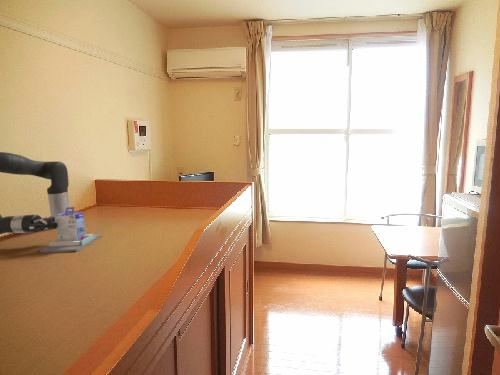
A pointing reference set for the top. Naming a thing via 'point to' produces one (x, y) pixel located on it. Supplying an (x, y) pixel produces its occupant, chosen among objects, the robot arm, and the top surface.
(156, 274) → the top surface
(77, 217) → the ink cartridge box
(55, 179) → the robot arm
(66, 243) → the rail plate
